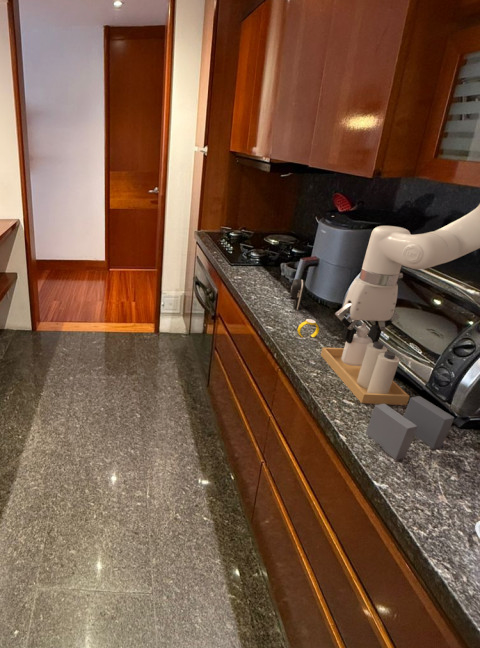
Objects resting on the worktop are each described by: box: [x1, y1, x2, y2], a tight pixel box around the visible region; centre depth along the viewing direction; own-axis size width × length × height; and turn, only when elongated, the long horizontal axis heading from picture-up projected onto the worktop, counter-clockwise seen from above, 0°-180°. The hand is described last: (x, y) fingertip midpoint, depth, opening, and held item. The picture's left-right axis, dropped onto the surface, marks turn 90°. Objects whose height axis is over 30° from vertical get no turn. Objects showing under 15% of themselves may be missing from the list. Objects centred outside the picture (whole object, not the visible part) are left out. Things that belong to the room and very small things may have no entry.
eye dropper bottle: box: [341, 322, 373, 366], centre depth 102 cm, size 4×6×12 cm
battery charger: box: [289, 278, 306, 314], centre depth 138 cm, size 7×4×11 cm, turn 155°
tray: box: [320, 347, 411, 406], centre depth 101 cm, size 21×10×3 cm, turn 176°
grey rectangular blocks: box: [365, 395, 455, 461], centre depth 80 cm, size 12×7×8 cm, turn 105°
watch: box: [297, 318, 320, 338], centre depth 121 cm, size 6×3×6 cm, turn 87°
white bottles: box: [357, 341, 400, 394], centre depth 94 cm, size 8×4×12 cm, turn 176°
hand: (359, 340), depth 102 cm, fingers closed on eye dropper bottle, 5 cm apart
